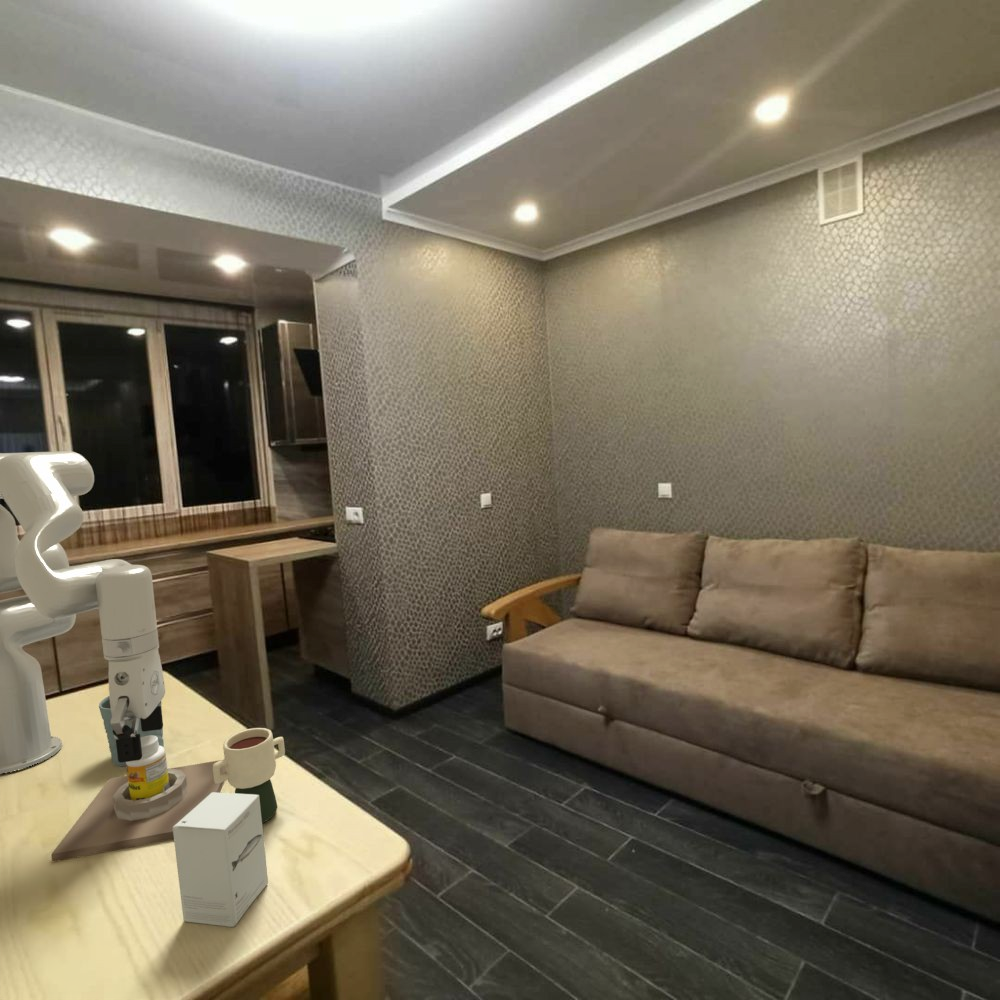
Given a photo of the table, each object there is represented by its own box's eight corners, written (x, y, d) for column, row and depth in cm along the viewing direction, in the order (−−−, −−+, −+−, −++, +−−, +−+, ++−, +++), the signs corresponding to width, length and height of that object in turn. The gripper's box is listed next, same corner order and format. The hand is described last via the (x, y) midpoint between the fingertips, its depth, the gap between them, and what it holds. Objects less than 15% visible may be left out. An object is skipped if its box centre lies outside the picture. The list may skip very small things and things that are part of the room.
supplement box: (235, 929, 71) (223, 830, 69) (181, 922, 72) (169, 826, 71) (270, 883, 78) (260, 793, 76) (221, 878, 79) (211, 789, 78)
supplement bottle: (126, 802, 96) (118, 743, 95) (162, 786, 100) (155, 729, 99) (138, 815, 92) (130, 753, 91) (176, 797, 97) (168, 738, 96)
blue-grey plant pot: (172, 737, 120) (166, 681, 119) (161, 762, 111) (153, 701, 110) (116, 748, 117) (108, 691, 116) (99, 775, 108) (90, 712, 106)
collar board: (52, 861, 85) (48, 837, 84) (110, 784, 104) (108, 765, 104) (202, 833, 89) (199, 810, 89) (231, 764, 108) (229, 745, 108)
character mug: (280, 792, 98) (272, 718, 97) (299, 809, 93) (291, 731, 92) (212, 824, 91) (202, 745, 90) (229, 845, 86) (219, 761, 84)
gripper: (136, 660, 86) (148, 770, 88) (174, 624, 103) (183, 716, 105) (79, 666, 85) (92, 778, 87) (126, 628, 101) (136, 722, 103)
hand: (142, 744), depth 96 cm, fingers open, 9 cm apart
